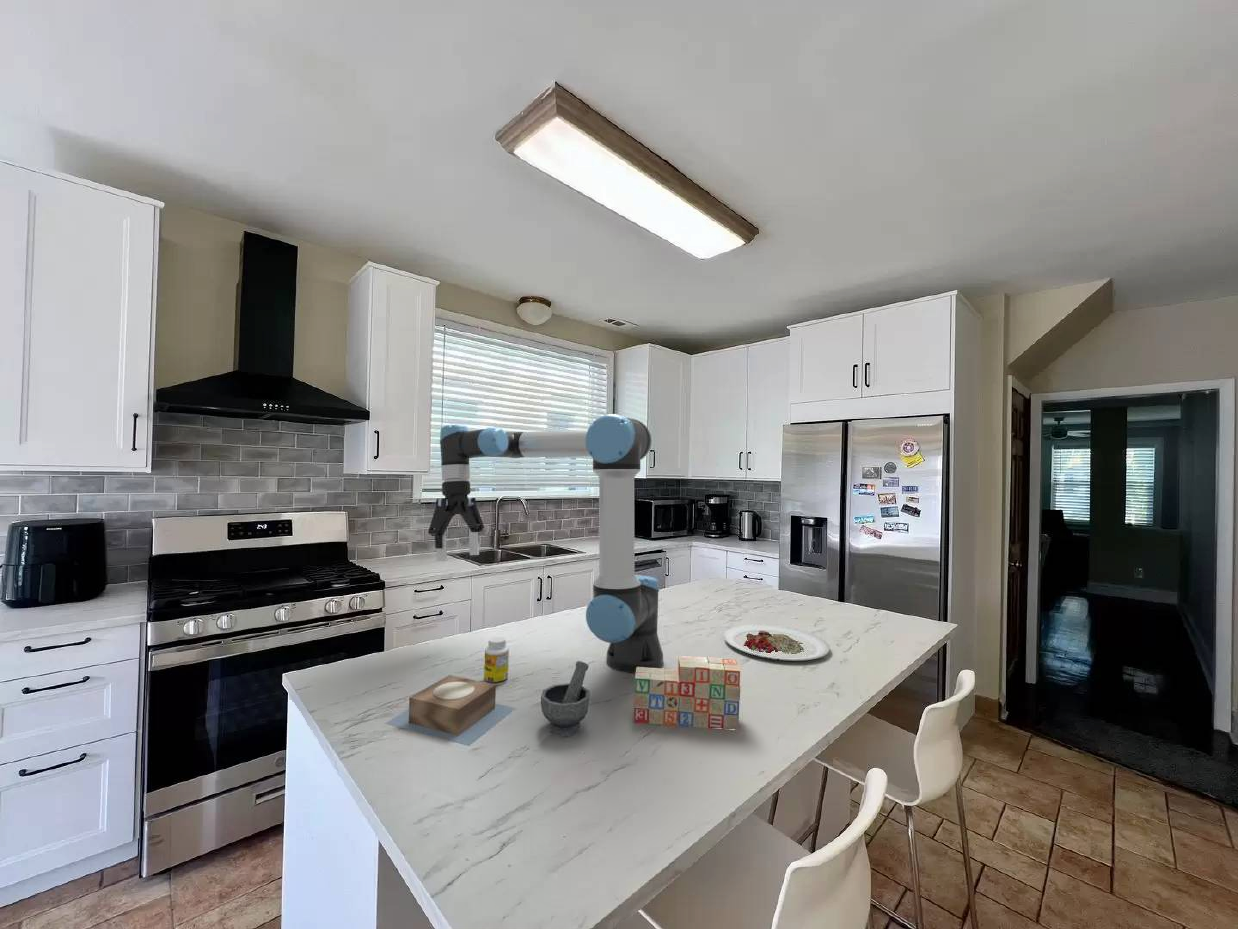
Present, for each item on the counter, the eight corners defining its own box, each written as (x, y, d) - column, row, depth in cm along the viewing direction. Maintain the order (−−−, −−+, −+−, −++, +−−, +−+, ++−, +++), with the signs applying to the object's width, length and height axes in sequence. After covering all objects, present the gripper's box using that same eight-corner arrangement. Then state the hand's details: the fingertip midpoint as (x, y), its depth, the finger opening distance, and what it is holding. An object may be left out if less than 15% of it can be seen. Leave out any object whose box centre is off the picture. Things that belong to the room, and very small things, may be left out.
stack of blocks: (633, 723, 106) (634, 663, 106) (635, 709, 112) (636, 652, 112) (739, 731, 103) (740, 670, 103) (735, 716, 110) (736, 658, 110)
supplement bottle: (480, 680, 124) (481, 637, 124) (503, 675, 127) (504, 634, 127) (488, 689, 119) (489, 644, 119) (511, 684, 122) (512, 640, 122)
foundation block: (495, 708, 109) (495, 683, 109) (458, 735, 98) (459, 708, 98) (449, 697, 113) (449, 674, 113) (408, 722, 102) (409, 696, 102)
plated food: (838, 642, 159) (838, 632, 159) (817, 675, 133) (817, 662, 133) (743, 624, 175) (743, 614, 175) (708, 650, 149) (709, 638, 149)
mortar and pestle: (566, 747, 96) (567, 682, 96) (530, 731, 101) (531, 669, 101) (602, 723, 105) (604, 664, 105) (568, 709, 110) (569, 653, 110)
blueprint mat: (516, 710, 110) (516, 708, 110) (469, 747, 95) (469, 745, 95) (440, 692, 117) (440, 690, 117) (385, 725, 102) (385, 723, 102)
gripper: (473, 482, 157) (476, 553, 155) (412, 481, 134) (414, 563, 132) (494, 480, 154) (497, 552, 152) (435, 479, 131) (438, 563, 129)
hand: (458, 558), depth 142 cm, fingers open, 13 cm apart
